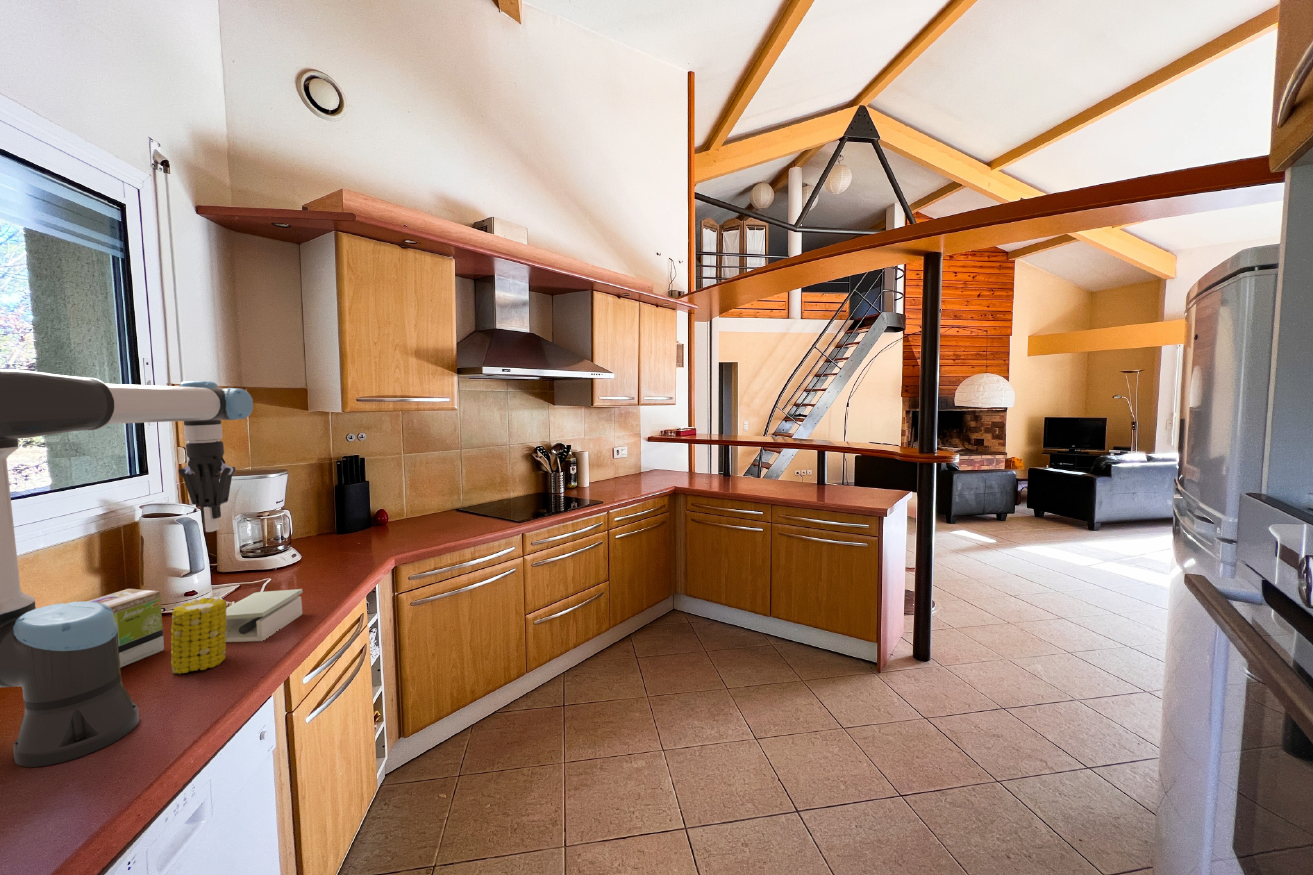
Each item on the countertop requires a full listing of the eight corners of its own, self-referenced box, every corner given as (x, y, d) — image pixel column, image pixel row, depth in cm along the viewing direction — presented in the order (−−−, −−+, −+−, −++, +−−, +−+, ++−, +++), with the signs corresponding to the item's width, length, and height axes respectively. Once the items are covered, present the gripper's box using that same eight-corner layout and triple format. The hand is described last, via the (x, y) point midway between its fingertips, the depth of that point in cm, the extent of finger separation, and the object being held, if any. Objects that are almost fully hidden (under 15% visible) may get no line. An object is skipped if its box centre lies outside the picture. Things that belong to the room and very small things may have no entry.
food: (162, 681, 118) (211, 661, 128) (201, 676, 115) (248, 655, 125) (148, 612, 119) (198, 597, 128) (186, 605, 115) (234, 590, 125)
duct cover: (263, 616, 133) (262, 612, 133) (210, 620, 132) (209, 616, 132) (302, 592, 149) (302, 588, 149) (255, 595, 148) (255, 592, 148)
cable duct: (262, 640, 133) (261, 621, 133) (212, 642, 133) (210, 622, 133) (302, 614, 149) (301, 596, 149) (257, 615, 149) (255, 597, 148)
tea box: (90, 683, 115) (82, 615, 114) (53, 678, 117) (46, 612, 116) (166, 649, 130) (160, 589, 128) (133, 646, 132) (127, 586, 130)
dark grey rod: (247, 633, 135) (246, 626, 135) (239, 634, 135) (238, 626, 135) (281, 612, 148) (280, 605, 148) (273, 612, 148) (272, 605, 148)
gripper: (240, 439, 145) (248, 526, 147) (190, 440, 145) (198, 527, 147) (219, 442, 138) (227, 533, 140) (166, 443, 137) (175, 535, 140)
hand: (212, 530), depth 143 cm, fingers closed
